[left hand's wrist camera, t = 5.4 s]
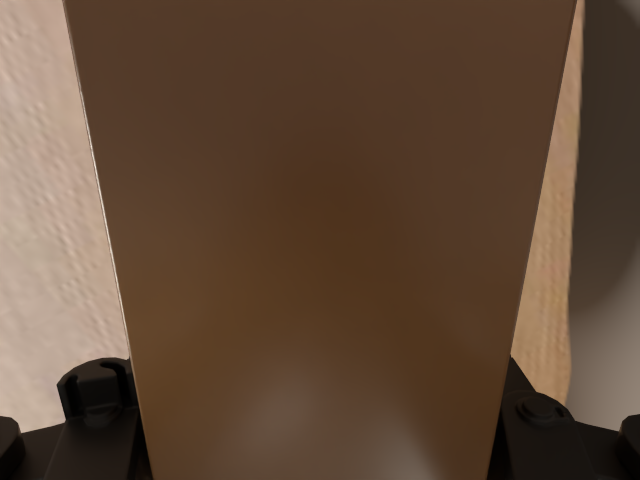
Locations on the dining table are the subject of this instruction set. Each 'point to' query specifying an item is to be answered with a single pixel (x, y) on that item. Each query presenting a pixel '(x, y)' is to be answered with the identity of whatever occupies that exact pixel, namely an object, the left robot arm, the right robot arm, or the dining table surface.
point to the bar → (319, 222)
